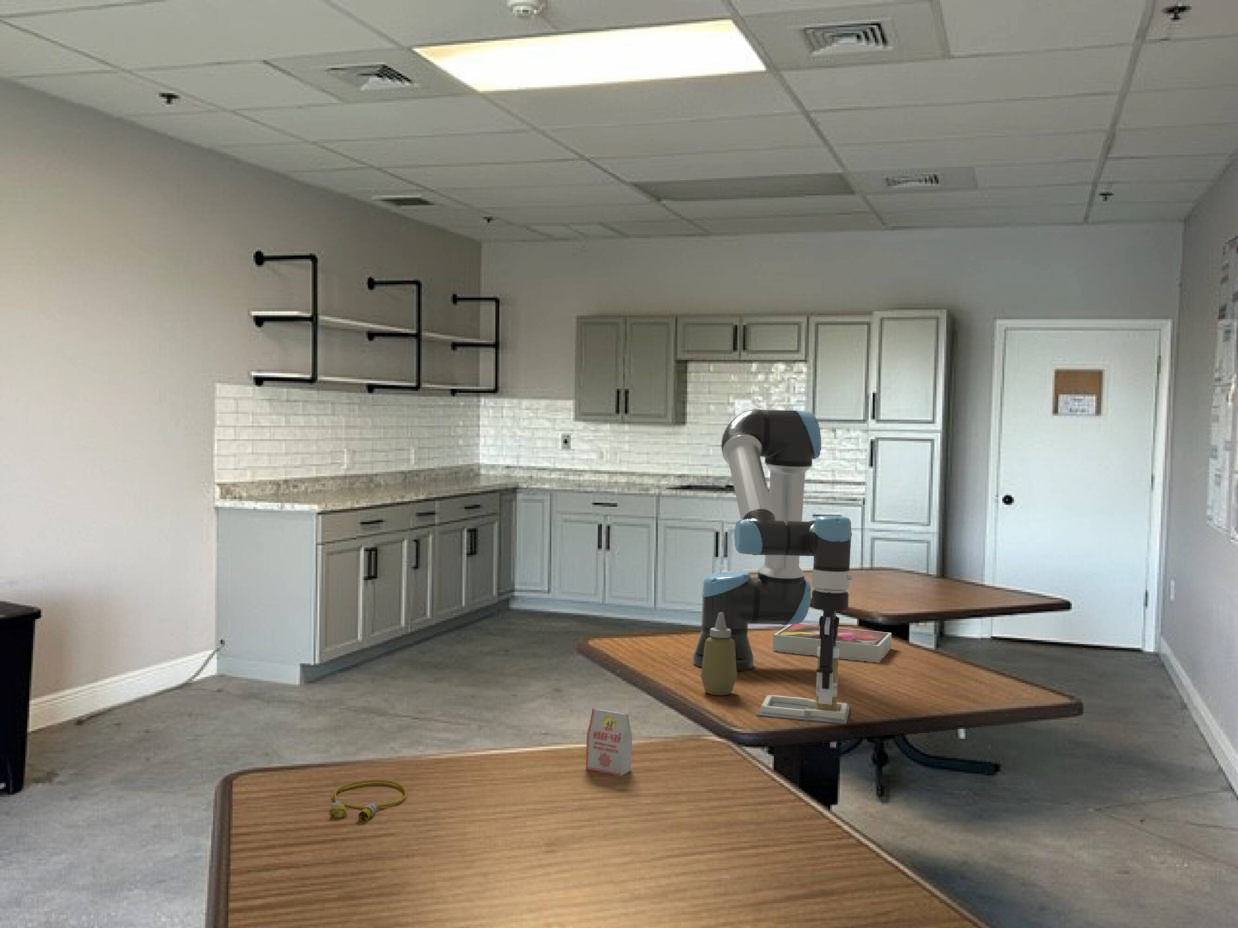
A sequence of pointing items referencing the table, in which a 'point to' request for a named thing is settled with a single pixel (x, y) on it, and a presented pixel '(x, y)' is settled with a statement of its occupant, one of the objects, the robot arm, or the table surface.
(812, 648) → the product packaging
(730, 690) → the squeeze bottle
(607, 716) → the white paper bag
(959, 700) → the table surface
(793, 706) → the keyhole track
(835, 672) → the sprinkles bottle
